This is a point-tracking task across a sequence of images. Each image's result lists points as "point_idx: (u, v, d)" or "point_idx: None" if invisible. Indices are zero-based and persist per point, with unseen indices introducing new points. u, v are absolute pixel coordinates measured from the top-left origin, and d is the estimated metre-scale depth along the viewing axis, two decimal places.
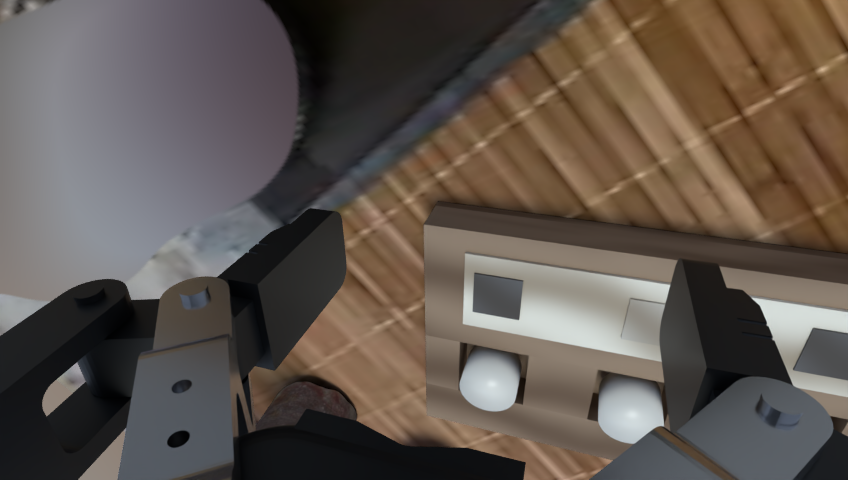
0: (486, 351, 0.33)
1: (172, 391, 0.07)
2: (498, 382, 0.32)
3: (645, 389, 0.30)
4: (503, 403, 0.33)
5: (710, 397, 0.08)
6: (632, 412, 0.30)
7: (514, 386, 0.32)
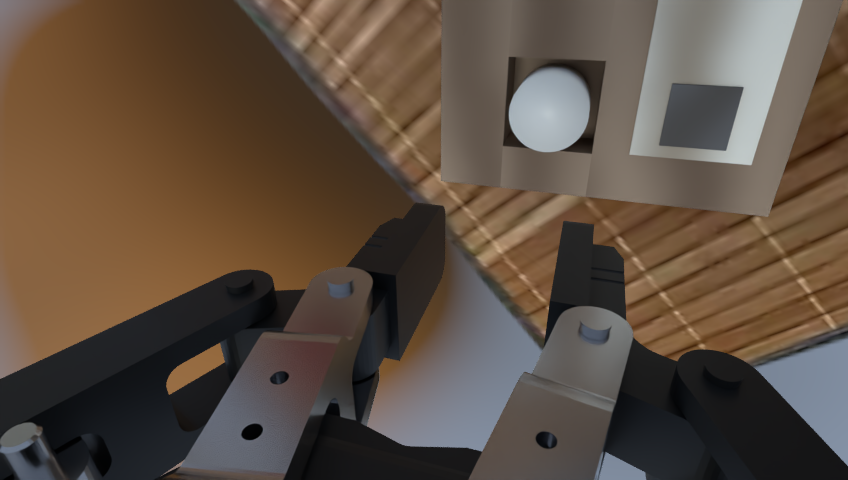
0: None
1: (270, 380, 0.07)
2: None
3: None
4: None
5: None
6: None
7: None
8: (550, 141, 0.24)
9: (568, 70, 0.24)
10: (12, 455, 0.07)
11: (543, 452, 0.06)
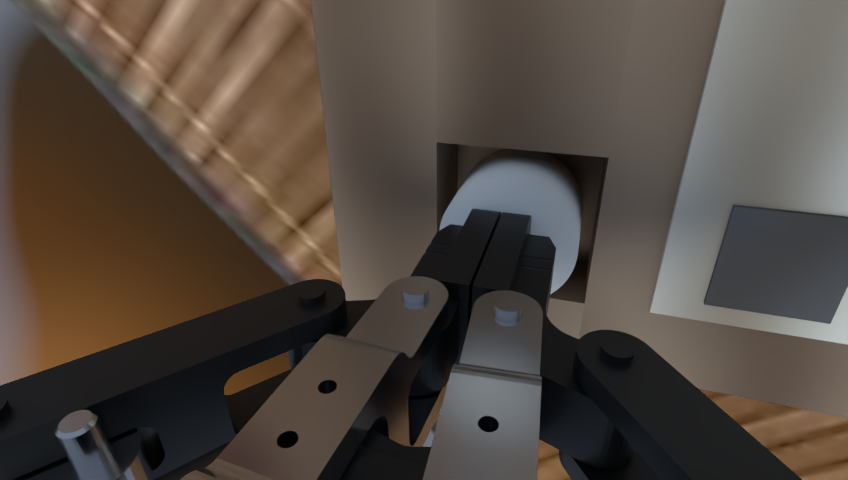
0: None
1: (319, 387, 0.07)
2: None
3: None
4: None
5: None
6: None
7: None
8: None
9: (542, 165, 0.14)
10: (66, 441, 0.07)
11: (487, 436, 0.06)
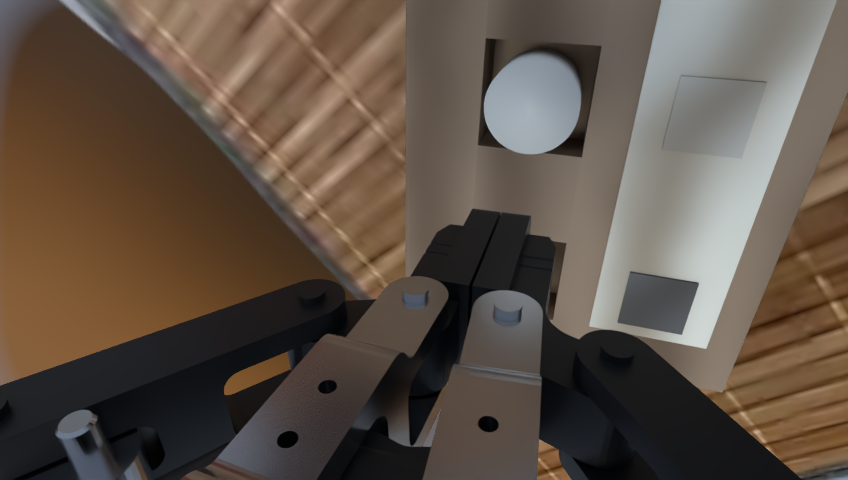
0: None
1: (319, 387, 0.07)
2: None
3: None
4: None
5: None
6: (553, 110, 0.20)
7: None
8: None
9: None
10: (66, 441, 0.07)
11: (486, 436, 0.06)
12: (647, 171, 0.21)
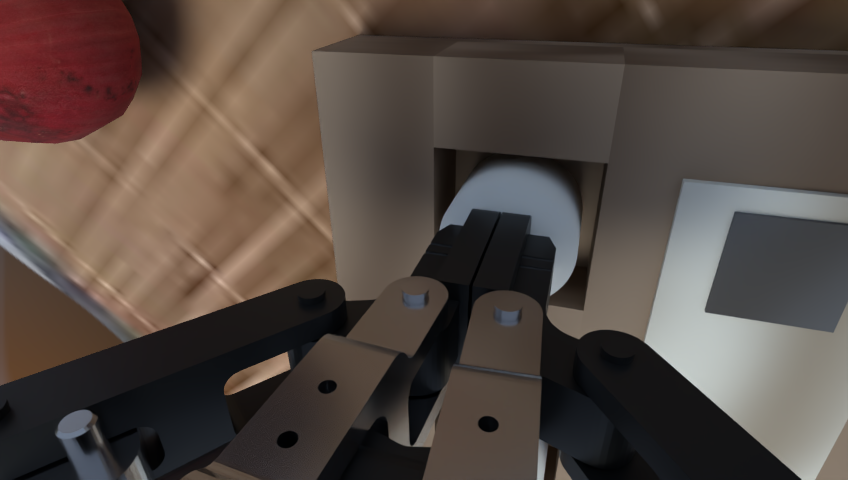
0: (580, 211, 0.14)
1: (319, 387, 0.07)
2: None
3: None
4: None
5: None
6: None
7: None
8: None
9: None
10: (66, 441, 0.07)
11: (487, 437, 0.06)
12: None
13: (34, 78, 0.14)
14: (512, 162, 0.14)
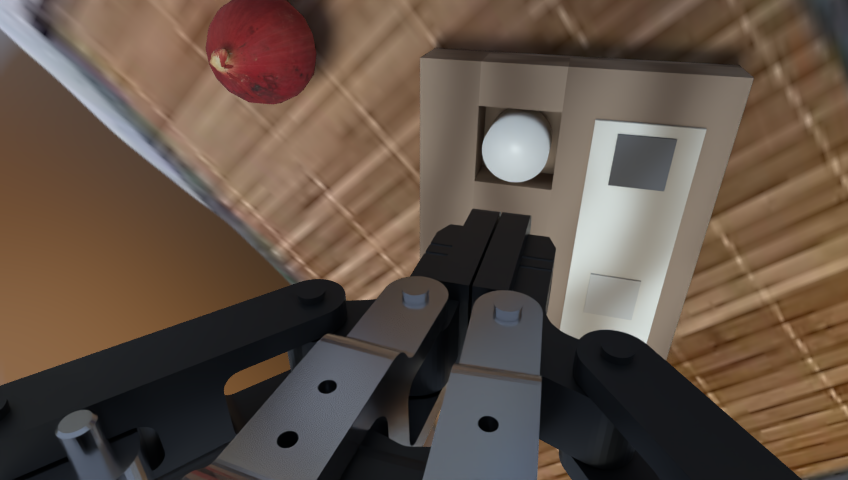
0: (550, 136, 0.29)
1: (319, 387, 0.07)
2: (530, 164, 0.28)
3: None
4: (498, 168, 0.29)
5: None
6: None
7: (525, 180, 0.29)
8: None
9: None
10: (66, 441, 0.07)
11: (487, 436, 0.06)
12: (575, 322, 0.33)
13: (283, 69, 0.28)
14: (517, 111, 0.29)
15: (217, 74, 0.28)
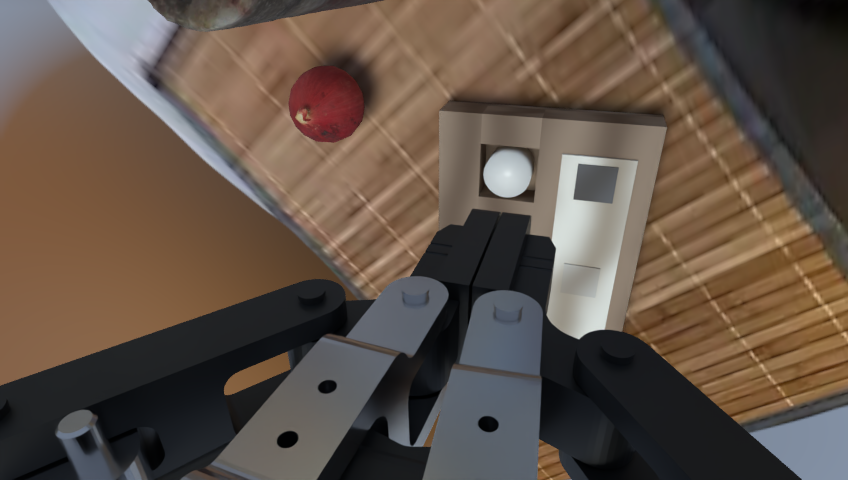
0: (532, 164, 0.41)
1: (319, 387, 0.07)
2: (518, 184, 0.40)
3: None
4: (495, 187, 0.41)
5: None
6: None
7: (514, 196, 0.41)
8: None
9: None
10: (66, 441, 0.07)
11: (487, 437, 0.06)
12: (555, 300, 0.44)
13: (343, 120, 0.39)
14: (509, 147, 0.40)
15: (297, 124, 0.40)
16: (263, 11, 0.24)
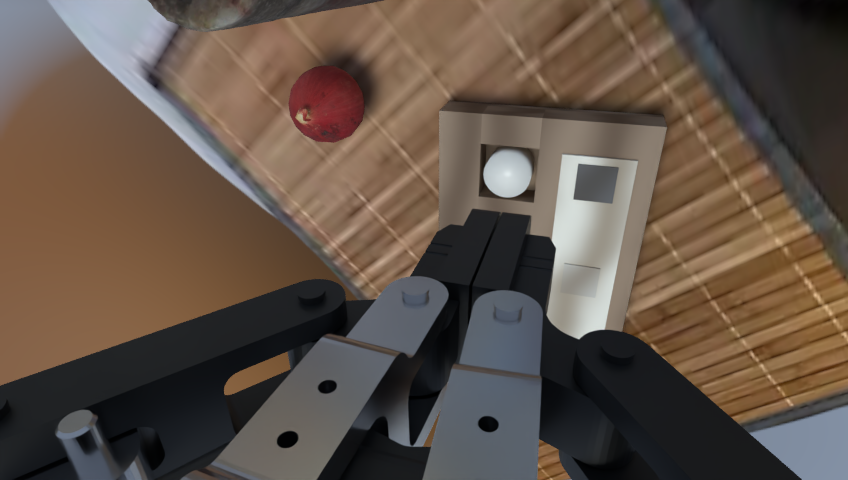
0: (532, 164, 0.41)
1: (319, 387, 0.07)
2: (518, 184, 0.40)
3: None
4: (495, 187, 0.41)
5: None
6: None
7: (514, 196, 0.41)
8: None
9: None
10: (66, 441, 0.07)
11: (487, 437, 0.06)
12: (555, 300, 0.44)
13: (343, 120, 0.39)
14: (509, 147, 0.40)
15: (297, 124, 0.40)
16: (263, 11, 0.24)
